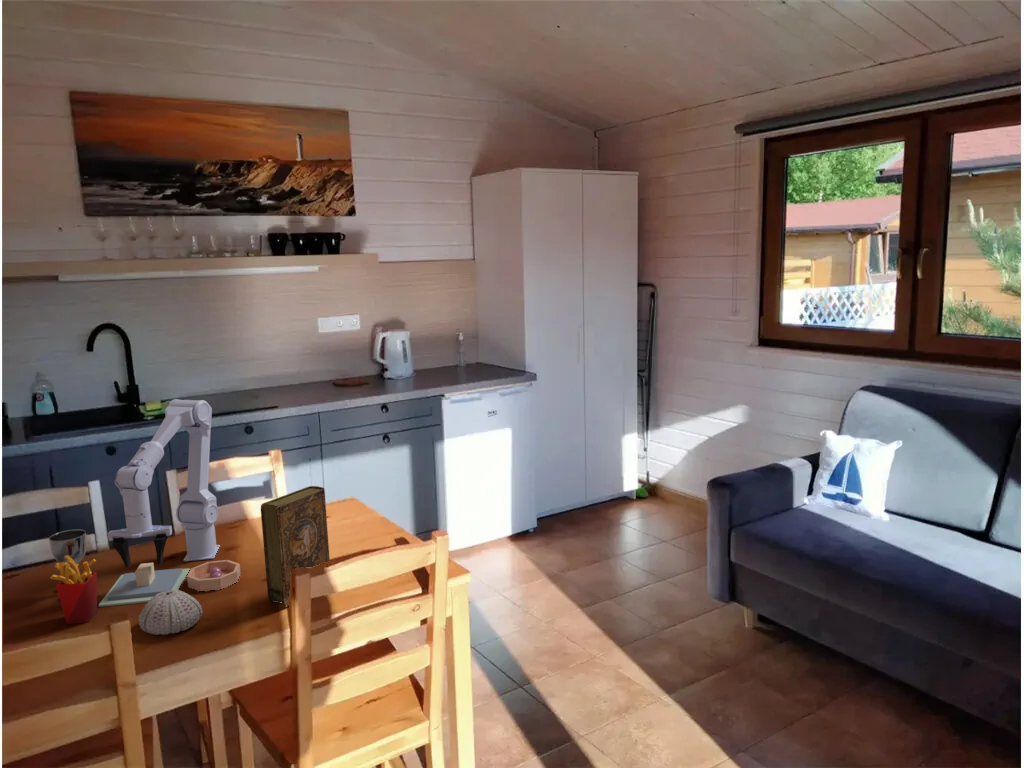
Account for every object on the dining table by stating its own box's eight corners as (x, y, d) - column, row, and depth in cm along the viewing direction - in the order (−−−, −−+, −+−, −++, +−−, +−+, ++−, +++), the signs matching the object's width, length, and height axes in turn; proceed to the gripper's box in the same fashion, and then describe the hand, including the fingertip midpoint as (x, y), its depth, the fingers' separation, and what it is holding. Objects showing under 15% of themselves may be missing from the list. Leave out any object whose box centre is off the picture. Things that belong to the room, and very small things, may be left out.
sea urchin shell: (146, 616, 182) (143, 584, 180) (208, 609, 184) (204, 577, 183) (133, 644, 169) (128, 609, 167) (199, 635, 172) (195, 601, 170)
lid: (125, 577, 203) (123, 558, 202) (182, 571, 205) (180, 553, 204) (107, 600, 189) (105, 581, 188) (168, 594, 191) (166, 575, 190)
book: (319, 578, 199) (312, 485, 195) (334, 583, 196) (327, 488, 192) (268, 604, 186) (259, 504, 181) (284, 609, 183) (275, 507, 178)
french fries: (103, 610, 185) (95, 550, 182) (88, 627, 177) (80, 564, 174) (63, 613, 184) (55, 553, 181) (47, 630, 176) (38, 567, 173)
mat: (121, 576, 204) (121, 574, 204) (190, 570, 207) (189, 568, 207) (98, 607, 187) (98, 605, 187) (173, 599, 190) (173, 597, 190)
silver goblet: (56, 601, 191) (48, 543, 188) (57, 589, 198) (49, 533, 195) (92, 593, 194) (85, 536, 192) (93, 582, 201) (85, 527, 199)
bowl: (195, 573, 205) (194, 563, 204) (242, 569, 207) (241, 558, 206) (184, 593, 193) (183, 582, 192) (235, 588, 195) (234, 577, 194)
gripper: (101, 521, 188) (108, 573, 191) (164, 515, 191) (170, 567, 193) (110, 511, 195) (117, 562, 198) (171, 506, 198) (177, 556, 200)
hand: (144, 564), depth 196 cm, fingers open, 7 cm apart
